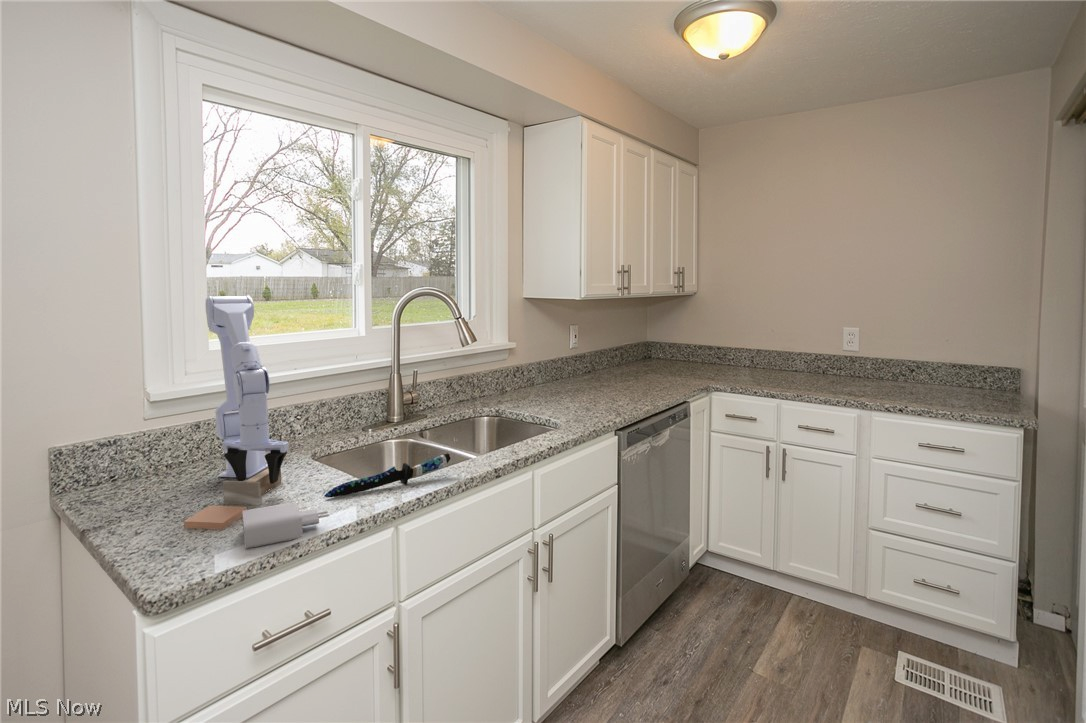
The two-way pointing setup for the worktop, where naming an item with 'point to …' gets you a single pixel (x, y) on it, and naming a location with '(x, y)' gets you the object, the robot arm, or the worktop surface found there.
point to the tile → (215, 517)
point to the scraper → (248, 489)
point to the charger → (276, 523)
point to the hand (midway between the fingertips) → (257, 481)
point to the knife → (389, 477)
